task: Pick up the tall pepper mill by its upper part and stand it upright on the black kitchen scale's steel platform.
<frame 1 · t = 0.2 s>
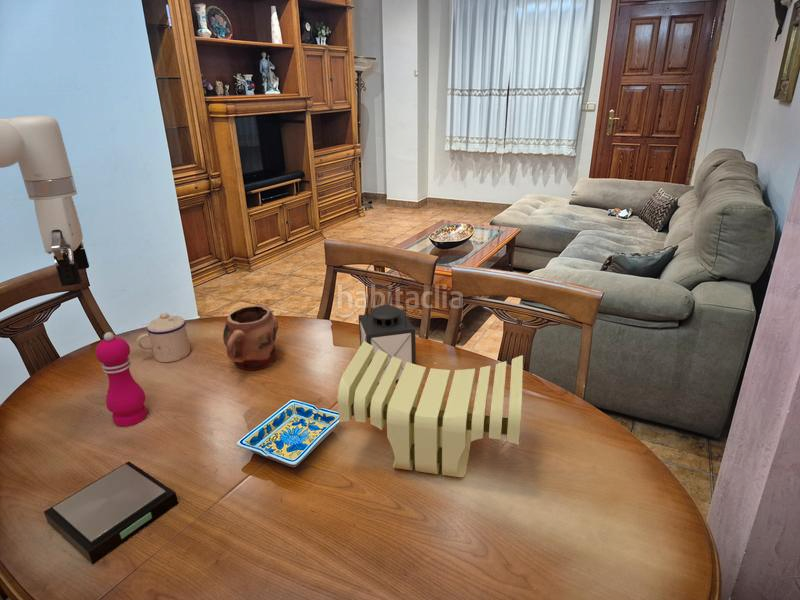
hand: (76, 276, 100), 30 cm above the table, tool pointing down, fingers open, 9 cm apart
teacup with lid: (167, 356, 132), on the table
kitchen scale: (114, 513, 83), on the table
decorative planter: (254, 365, 127), on the table
slatted curved stool: (433, 452, 96), on the table
pepper mill: (131, 418, 108), on the table
lantern: (387, 372, 123), on the table
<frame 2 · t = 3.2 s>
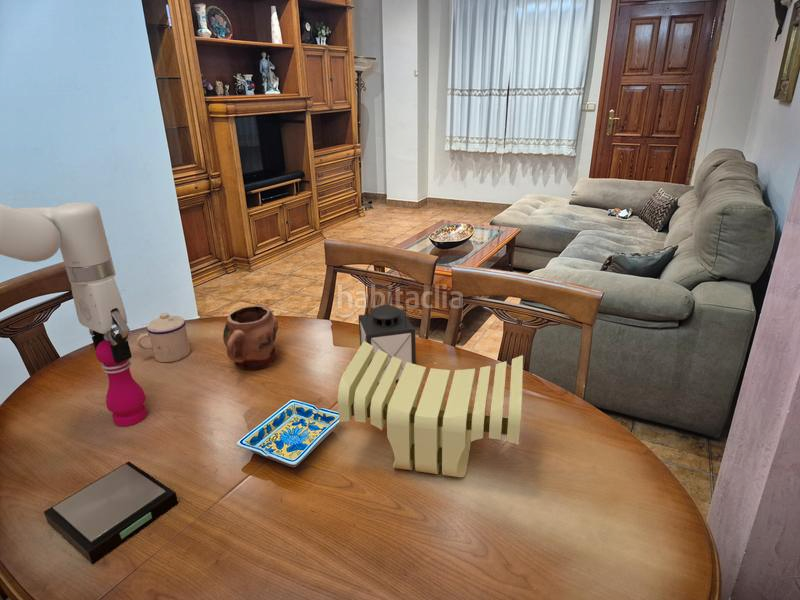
hand: (114, 355, 102), 15 cm above the table, tool pointing down, fingers closed on pepper mill, 6 cm apart
pepper mill: (131, 418, 108), on the table, touching gripper
everything else where it was.
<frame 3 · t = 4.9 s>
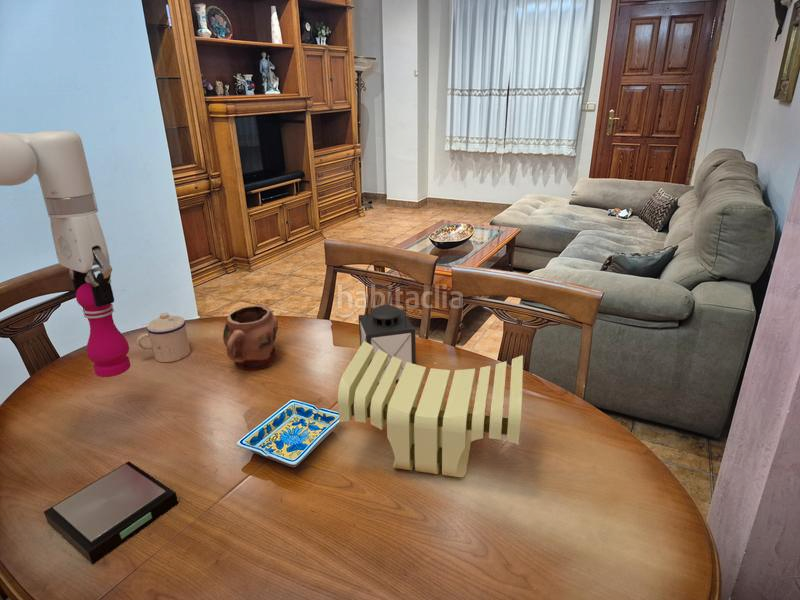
hand: (95, 299, 96), 27 cm above the table, tool pointing down, fingers closed on pepper mill, 6 cm apart
pepper mill: (113, 370, 102), point 12 cm above the table, touching gripper
everything else where it was.
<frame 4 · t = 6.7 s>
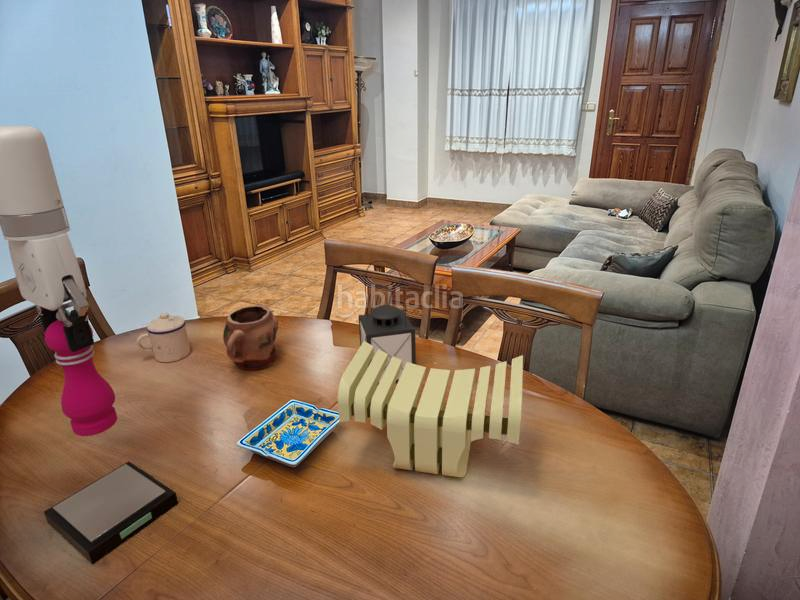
hand: (70, 341, 76), 29 cm above the table, tool pointing down, fingers closed on pepper mill, 6 cm apart
pepper mill: (96, 425, 82), point 14 cm above the table, touching gripper
everything else where it was.
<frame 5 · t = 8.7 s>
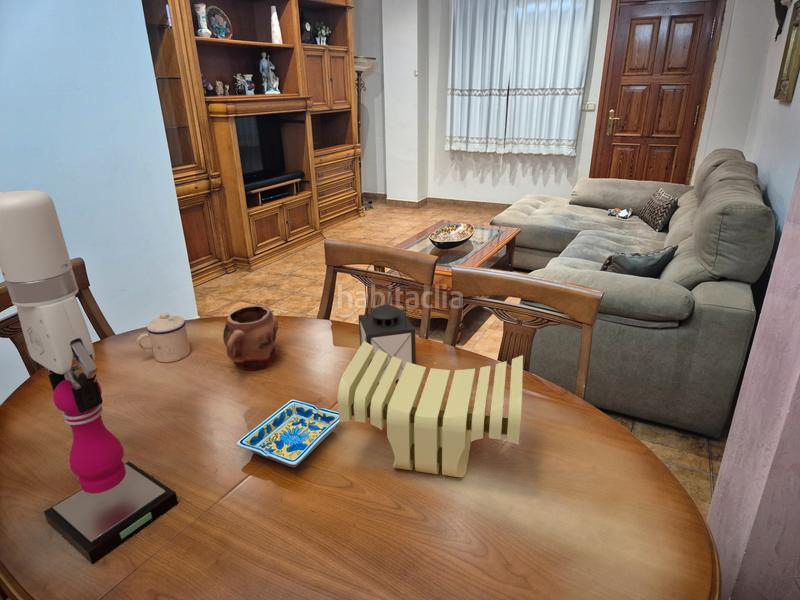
hand: (78, 399, 75), 22 cm above the table, tool pointing down, fingers closed on pepper mill, 6 cm apart
pepper mill: (104, 480, 81), point 7 cm above the table, touching gripper
everything else where it was.
when the fingers open (18 cm above the table, at t = 10.2 s): pepper mill stays where it is, resting on kitchen scale.
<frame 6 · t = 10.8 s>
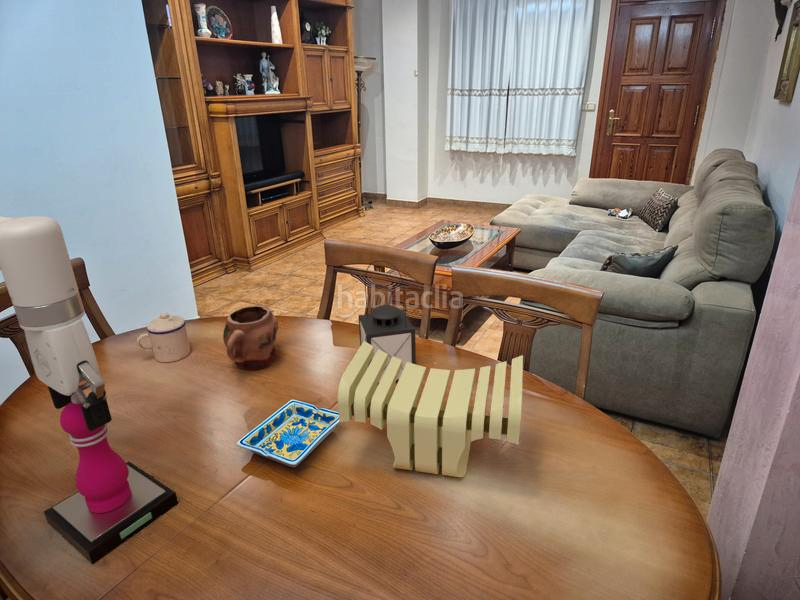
hand: (83, 414, 76), 19 cm above the table, tool pointing down, fingers open, 9 cm apart
pepper mill: (109, 499, 82), point 3 cm above the table, touching kitchen scale
everything else where it was.
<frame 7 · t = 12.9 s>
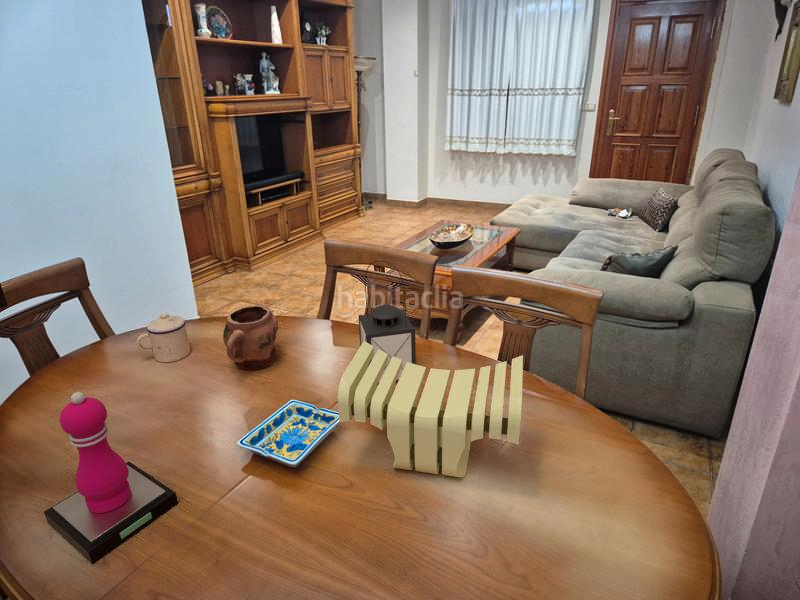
nothing on the table moved.
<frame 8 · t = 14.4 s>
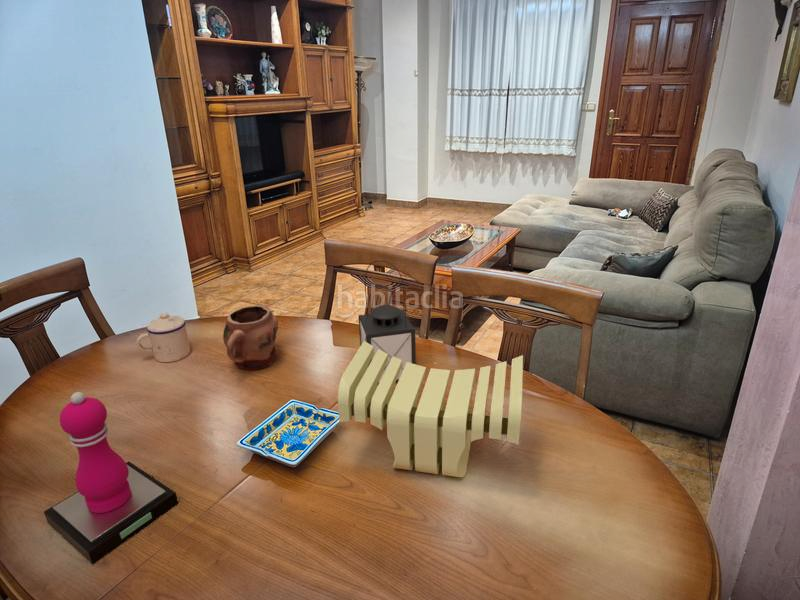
nothing on the table moved.
at the end: pepper mill inside the target area on the kitchen scale (0.1 cm from its centre), point 2.8 cm above the kitchen scale's base; pepper mill tilted 0°; the gripper is holding nothing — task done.
